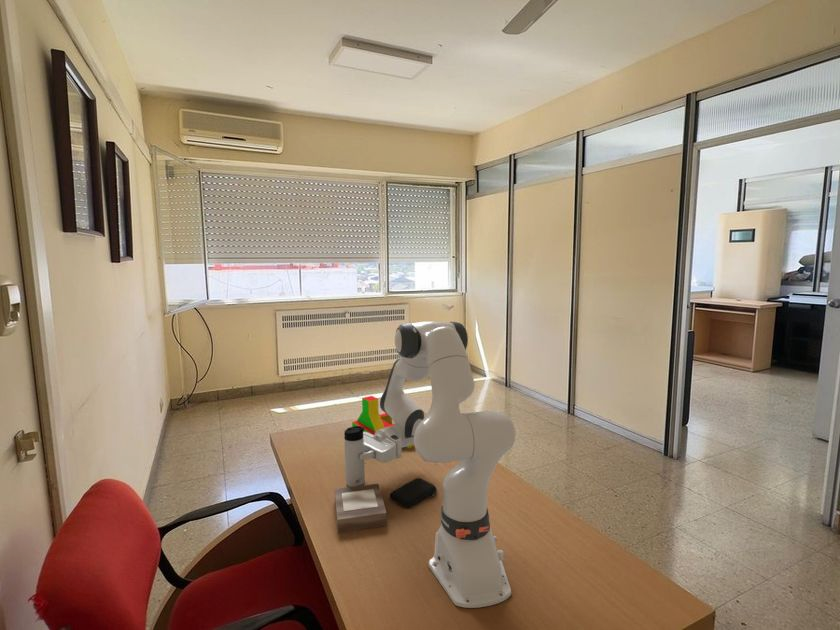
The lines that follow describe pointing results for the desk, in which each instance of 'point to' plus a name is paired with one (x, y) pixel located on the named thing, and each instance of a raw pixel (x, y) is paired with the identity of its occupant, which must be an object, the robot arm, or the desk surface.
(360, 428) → the travel mug
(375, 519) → the walnut riser
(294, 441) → the desk surface
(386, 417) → the building blocks toy
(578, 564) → the desk surface
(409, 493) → the carrying case or bag
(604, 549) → the desk surface
